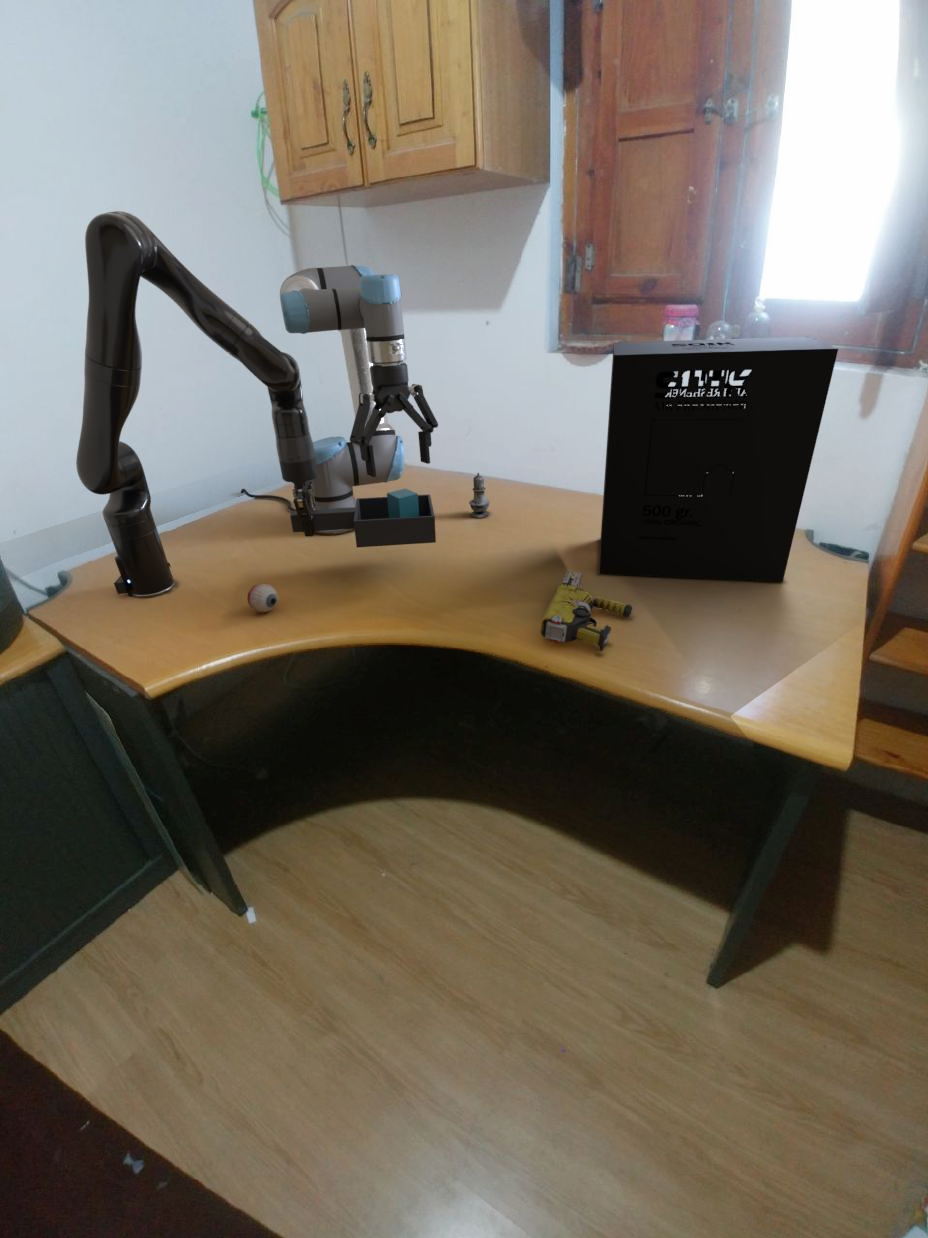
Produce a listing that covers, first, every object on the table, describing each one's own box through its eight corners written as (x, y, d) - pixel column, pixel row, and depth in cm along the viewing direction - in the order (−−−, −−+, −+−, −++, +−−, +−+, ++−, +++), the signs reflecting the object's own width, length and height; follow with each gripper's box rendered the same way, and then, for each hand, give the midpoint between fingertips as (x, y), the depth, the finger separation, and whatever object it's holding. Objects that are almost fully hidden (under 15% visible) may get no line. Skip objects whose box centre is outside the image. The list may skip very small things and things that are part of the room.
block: (389, 526, 138) (386, 492, 134) (407, 521, 141) (405, 488, 137) (401, 532, 134) (398, 498, 130) (419, 527, 137) (417, 493, 133)
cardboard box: (762, 543, 144) (806, 336, 121) (782, 581, 126) (838, 348, 104) (600, 538, 151) (613, 342, 129) (599, 574, 134) (614, 354, 112)
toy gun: (638, 581, 123) (566, 568, 127) (626, 636, 103) (540, 619, 107) (633, 601, 126) (563, 588, 130) (621, 659, 106) (537, 641, 110)
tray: (431, 518, 145) (430, 494, 142) (435, 542, 132) (434, 516, 129) (299, 526, 142) (295, 501, 139) (290, 551, 129) (286, 525, 126)
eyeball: (265, 620, 124) (259, 594, 121) (245, 613, 127) (238, 588, 124) (287, 607, 128) (281, 582, 125) (266, 601, 131) (260, 576, 128)
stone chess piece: (488, 518, 168) (487, 475, 162) (467, 517, 169) (465, 475, 163) (491, 510, 173) (490, 469, 167) (471, 510, 174) (469, 469, 168)
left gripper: (311, 463, 121) (325, 543, 130) (318, 446, 133) (330, 520, 142) (273, 466, 120) (289, 546, 129) (283, 449, 133) (298, 523, 141)
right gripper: (339, 373, 111) (356, 485, 122) (449, 357, 123) (456, 460, 134) (322, 369, 116) (339, 477, 127) (429, 354, 129) (437, 454, 139)
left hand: (310, 532), depth 135 cm, fingers closed on tray, 3 cm apart
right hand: (399, 468), depth 131 cm, fingers open, 13 cm apart
